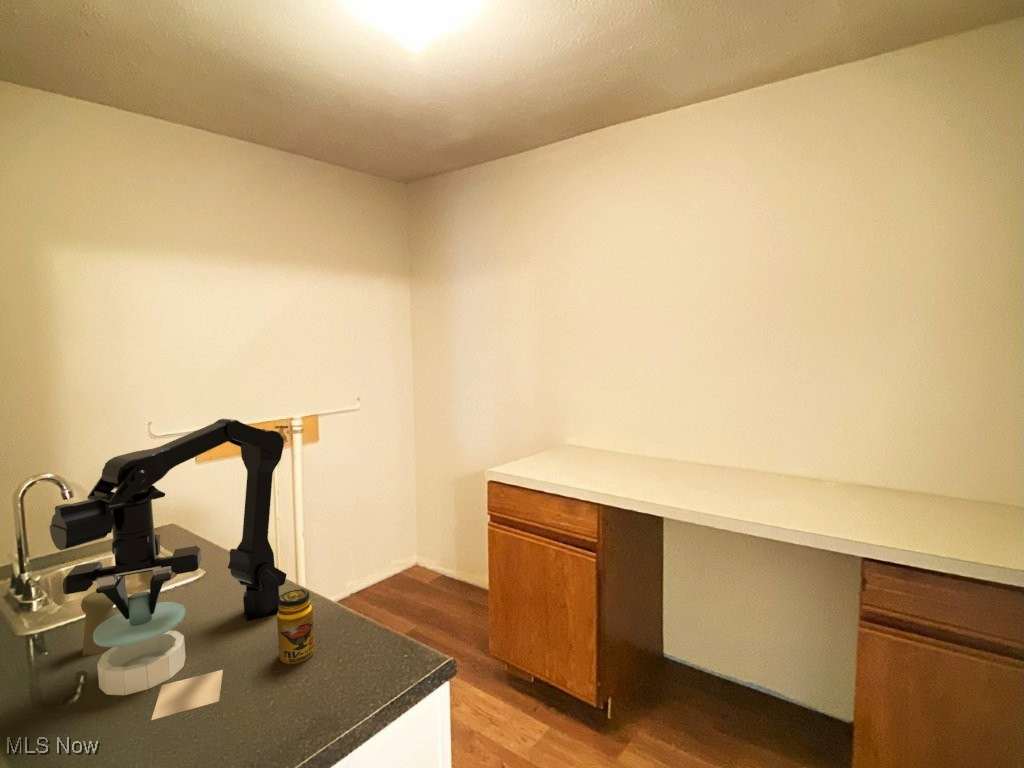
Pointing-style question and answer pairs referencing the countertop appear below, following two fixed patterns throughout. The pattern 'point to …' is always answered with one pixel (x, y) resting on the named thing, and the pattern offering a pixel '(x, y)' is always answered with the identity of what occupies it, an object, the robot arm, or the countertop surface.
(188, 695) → the plate
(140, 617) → the lid
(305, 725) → the countertop surface
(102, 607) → the pepper shaker
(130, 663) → the bowl
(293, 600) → the condiment
